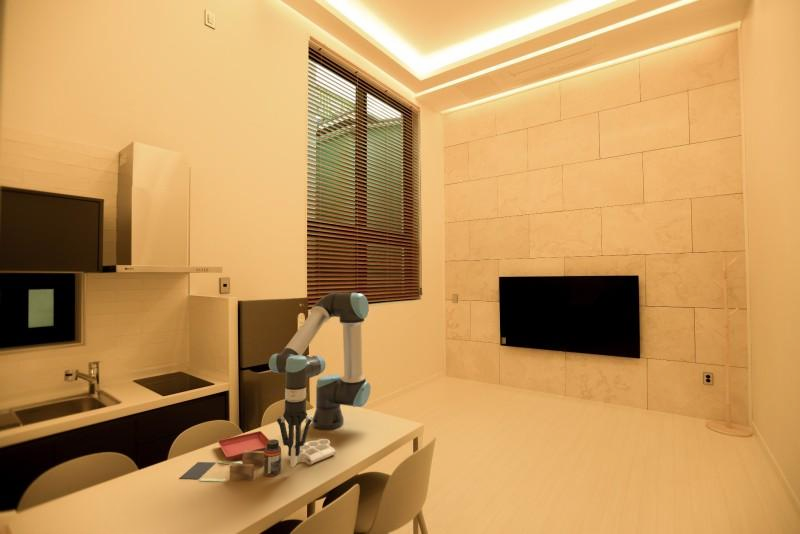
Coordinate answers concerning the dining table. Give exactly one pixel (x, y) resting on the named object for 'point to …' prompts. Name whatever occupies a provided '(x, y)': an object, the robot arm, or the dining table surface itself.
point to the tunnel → (247, 466)
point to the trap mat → (197, 470)
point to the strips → (220, 479)
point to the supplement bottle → (272, 458)
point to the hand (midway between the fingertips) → (293, 464)
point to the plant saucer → (243, 444)
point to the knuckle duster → (315, 451)
